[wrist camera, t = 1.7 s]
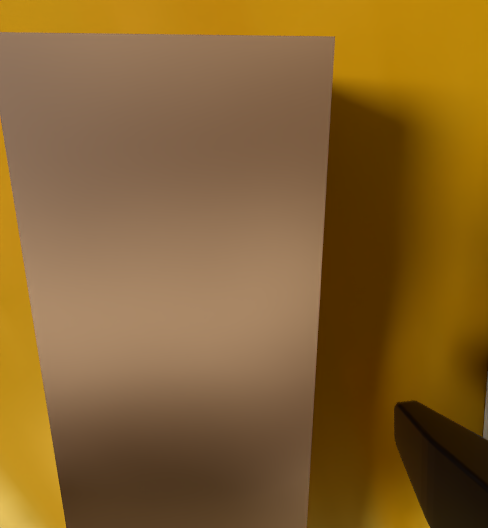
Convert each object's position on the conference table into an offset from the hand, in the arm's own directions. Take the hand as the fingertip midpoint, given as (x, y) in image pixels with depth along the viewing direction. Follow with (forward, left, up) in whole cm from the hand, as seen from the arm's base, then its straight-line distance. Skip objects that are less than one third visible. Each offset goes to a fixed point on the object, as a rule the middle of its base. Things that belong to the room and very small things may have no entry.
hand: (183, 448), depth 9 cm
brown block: (0, 0, -4) cm, 4 cm away
